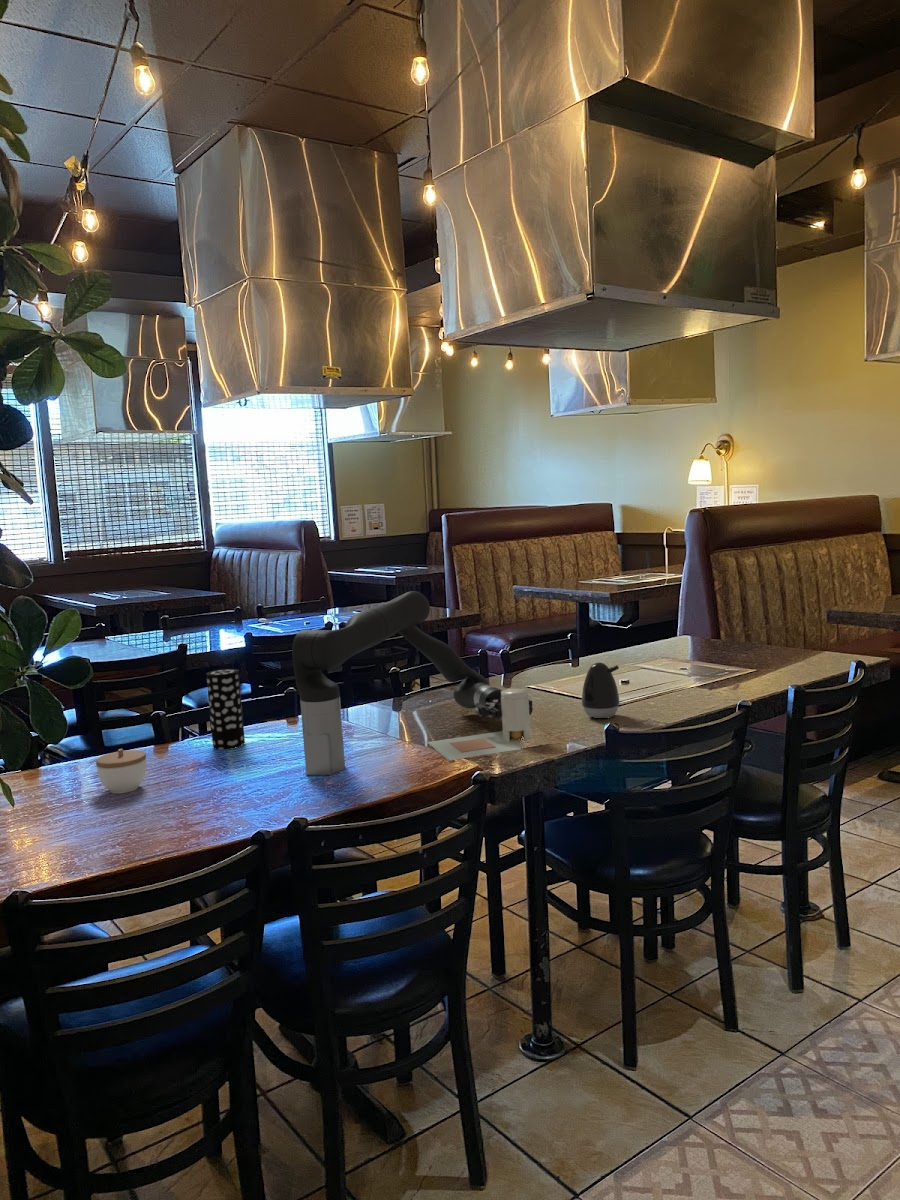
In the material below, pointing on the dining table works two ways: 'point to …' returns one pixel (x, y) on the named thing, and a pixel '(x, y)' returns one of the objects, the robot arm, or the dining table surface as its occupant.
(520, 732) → the ball
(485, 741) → the mat
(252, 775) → the dining table surface
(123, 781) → the lidded jar
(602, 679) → the pump dispenser
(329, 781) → the dining table surface
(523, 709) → the white cover with opening
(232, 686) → the white-spotted black cylinder
